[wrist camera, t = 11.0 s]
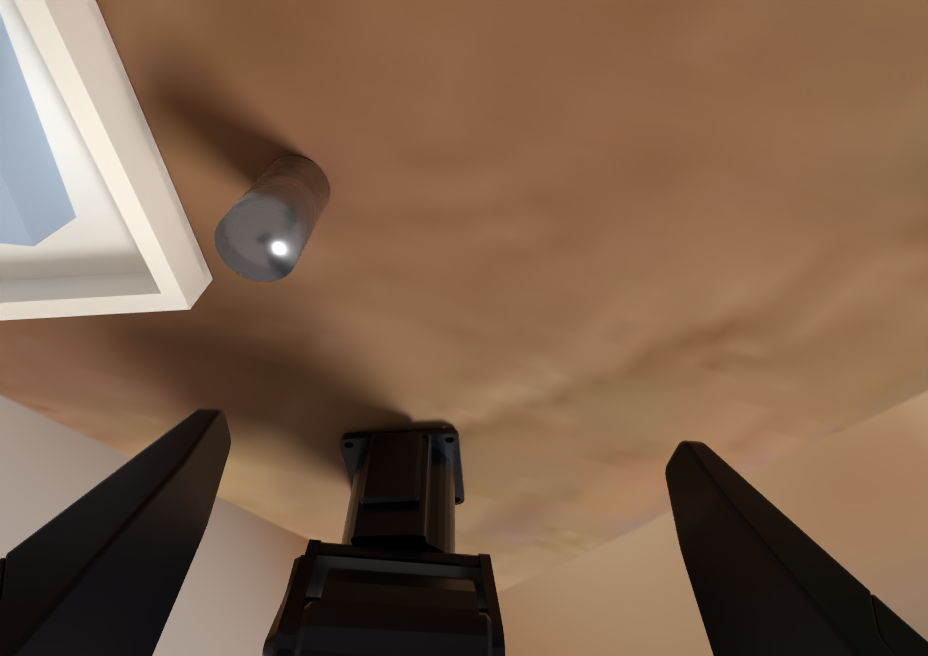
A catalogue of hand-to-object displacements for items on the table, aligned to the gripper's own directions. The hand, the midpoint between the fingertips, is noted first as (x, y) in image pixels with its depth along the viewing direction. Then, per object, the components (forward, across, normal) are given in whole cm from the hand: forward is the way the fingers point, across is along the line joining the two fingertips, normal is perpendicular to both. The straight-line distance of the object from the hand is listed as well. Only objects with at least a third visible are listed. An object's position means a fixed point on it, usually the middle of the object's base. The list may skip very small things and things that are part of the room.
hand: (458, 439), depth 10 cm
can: (+12, +6, 0) cm, 13 cm away
